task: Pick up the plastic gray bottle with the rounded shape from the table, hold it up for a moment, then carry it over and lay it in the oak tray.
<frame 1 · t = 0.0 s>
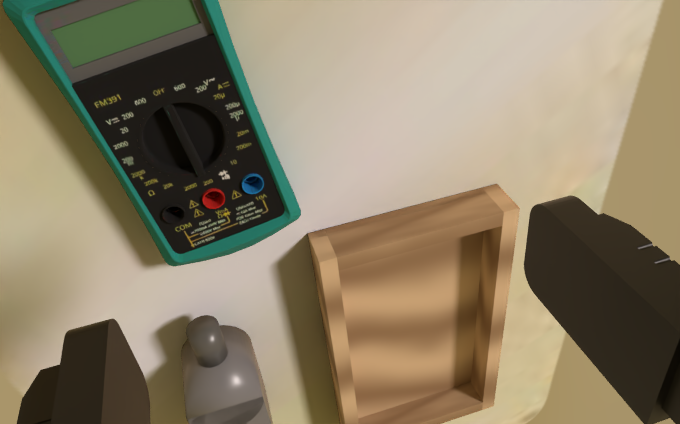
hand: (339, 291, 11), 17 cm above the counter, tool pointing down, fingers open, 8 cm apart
gray bottle: (225, 373, 37), on the counter
oak tray: (408, 319, 39), on the counter
digital multimeter: (176, 105, 26), on the counter
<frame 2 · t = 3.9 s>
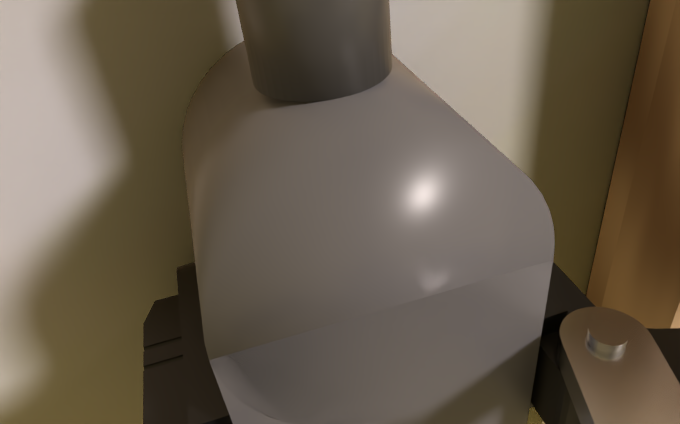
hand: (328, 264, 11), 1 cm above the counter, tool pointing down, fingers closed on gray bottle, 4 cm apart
gray bottle: (323, 248, 12), on the counter, touching gripper
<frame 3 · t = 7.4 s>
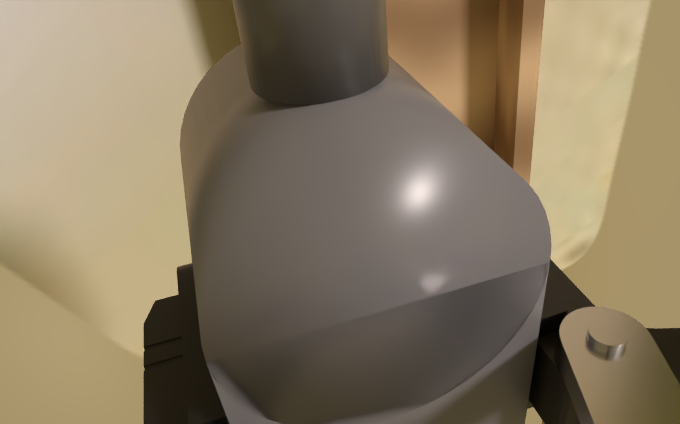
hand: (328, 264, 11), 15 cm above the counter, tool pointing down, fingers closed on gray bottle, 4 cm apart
gray bottle: (321, 249, 12), point 15 cm above the counter, touching gripper
oak tray: (389, 3, 24), on the counter
when the fingers open (3 cm above the counter, at t = 11.0 s): gray bottle drops 1 cm, resting on oak tray.
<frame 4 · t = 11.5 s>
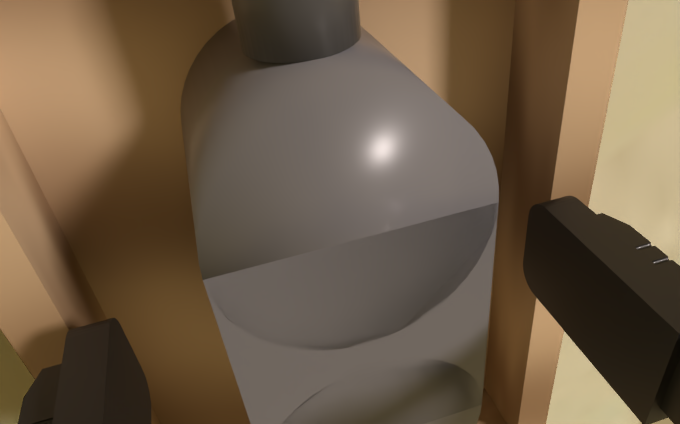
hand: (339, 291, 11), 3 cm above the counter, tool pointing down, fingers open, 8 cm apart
gray bottle: (308, 212, 13), point 1 cm above the counter, touching oak tray
oak tray: (300, 198, 13), on the counter
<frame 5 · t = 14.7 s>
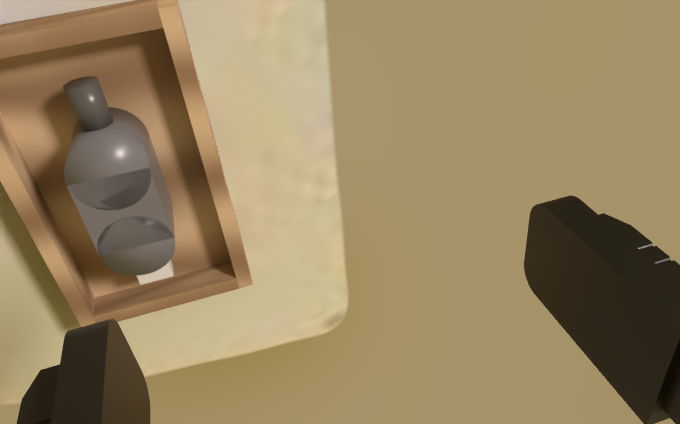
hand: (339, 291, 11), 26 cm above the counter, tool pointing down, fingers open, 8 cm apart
gray bottle: (125, 175, 35), point 1 cm above the counter, touching oak tray
oak tray: (124, 170, 36), on the counter
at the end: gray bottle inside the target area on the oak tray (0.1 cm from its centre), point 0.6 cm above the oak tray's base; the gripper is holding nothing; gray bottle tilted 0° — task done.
